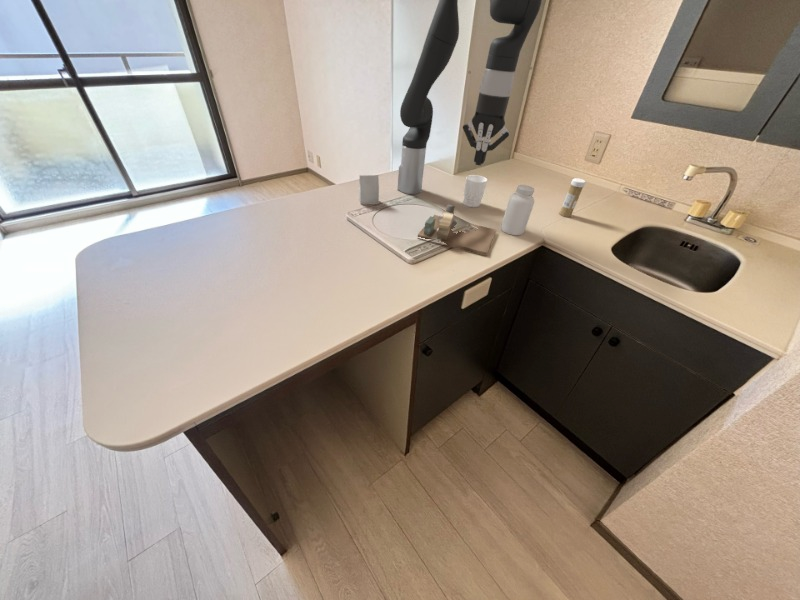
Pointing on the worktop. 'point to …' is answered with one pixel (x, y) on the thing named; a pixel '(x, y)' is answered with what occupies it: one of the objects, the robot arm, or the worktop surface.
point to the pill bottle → (518, 210)
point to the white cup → (474, 190)
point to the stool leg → (446, 223)
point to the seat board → (460, 236)
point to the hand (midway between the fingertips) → (478, 164)
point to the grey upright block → (369, 189)
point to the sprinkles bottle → (572, 197)
